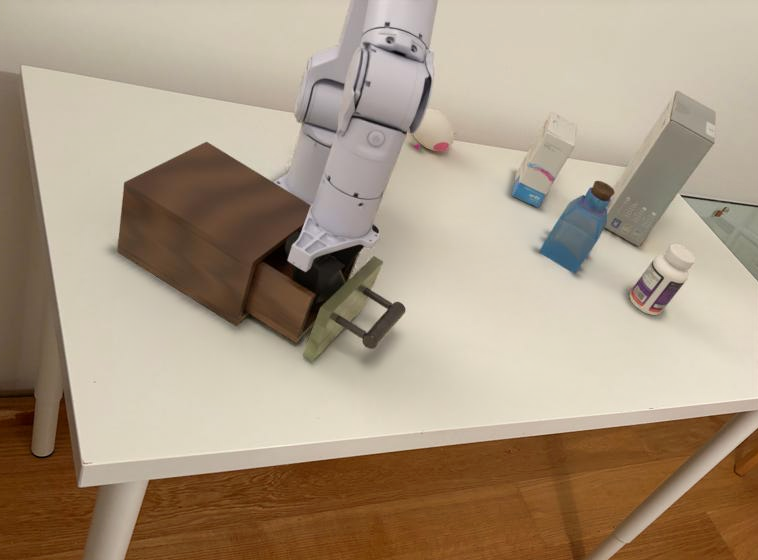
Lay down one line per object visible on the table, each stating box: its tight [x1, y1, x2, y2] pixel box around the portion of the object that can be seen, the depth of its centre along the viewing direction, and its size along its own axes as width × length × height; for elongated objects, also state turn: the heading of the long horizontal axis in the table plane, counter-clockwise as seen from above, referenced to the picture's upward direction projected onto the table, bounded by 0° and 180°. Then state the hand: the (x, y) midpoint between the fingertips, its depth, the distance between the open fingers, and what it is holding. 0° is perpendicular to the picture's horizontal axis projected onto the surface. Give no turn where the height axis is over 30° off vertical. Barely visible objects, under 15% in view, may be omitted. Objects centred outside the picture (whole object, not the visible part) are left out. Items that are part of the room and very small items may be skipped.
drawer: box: [244, 230, 407, 362], centre depth 74 cm, size 18×11×7 cm, turn 66°
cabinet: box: [116, 141, 311, 327], centre depth 75 cm, size 15×13×9 cm
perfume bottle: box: [538, 180, 615, 275], centre depth 103 cm, size 6×6×12 cm
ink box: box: [511, 111, 578, 209], centre depth 113 cm, size 9×5×12 cm, turn 168°
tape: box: [315, 256, 346, 303], centre depth 74 cm, size 5×5×3 cm
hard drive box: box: [604, 90, 717, 247], centre depth 117 cm, size 16×8×20 cm, turn 160°
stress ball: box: [413, 107, 456, 152], centre depth 113 cm, size 8×8×7 cm
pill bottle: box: [629, 243, 696, 316], centre depth 103 cm, size 5×5×10 cm
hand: (316, 288), depth 74 cm, fingers closed on tape, 5 cm apart
